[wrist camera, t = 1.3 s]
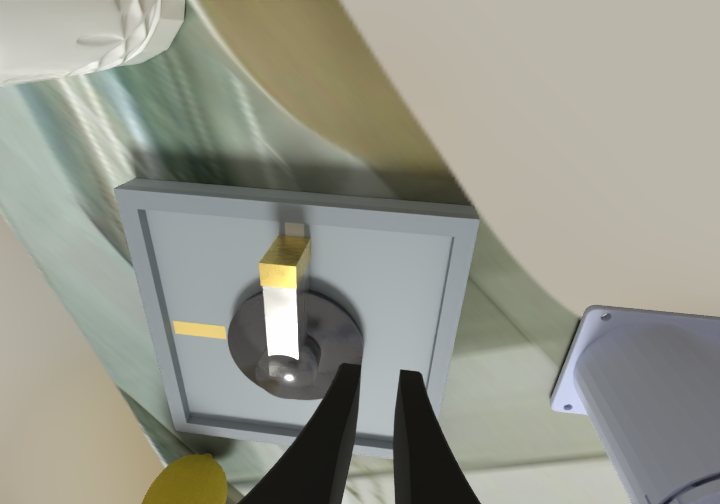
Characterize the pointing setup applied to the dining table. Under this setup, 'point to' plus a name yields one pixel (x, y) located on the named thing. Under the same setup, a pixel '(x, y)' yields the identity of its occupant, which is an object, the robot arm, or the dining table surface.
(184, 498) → the lemon
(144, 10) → the white cup
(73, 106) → the dining table surface
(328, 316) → the dial
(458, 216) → the dial plate
